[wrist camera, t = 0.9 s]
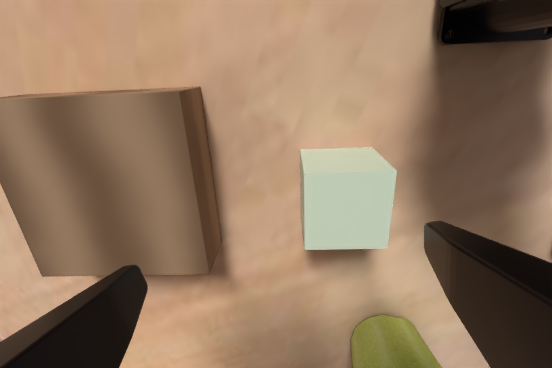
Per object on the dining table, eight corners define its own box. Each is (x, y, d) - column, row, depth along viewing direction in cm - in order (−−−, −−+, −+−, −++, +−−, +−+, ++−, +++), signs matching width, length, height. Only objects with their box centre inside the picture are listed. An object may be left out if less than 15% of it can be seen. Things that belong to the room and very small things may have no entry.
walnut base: (200, 86, 19) (178, 91, 15) (221, 241, 23) (209, 274, 19) (25, 94, 19) (-37, 101, 16) (80, 243, 24) (42, 276, 20)
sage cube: (371, 146, 20) (397, 171, 15) (365, 210, 22) (387, 248, 17) (300, 149, 20) (304, 173, 16) (300, 211, 22) (304, 249, 17)
